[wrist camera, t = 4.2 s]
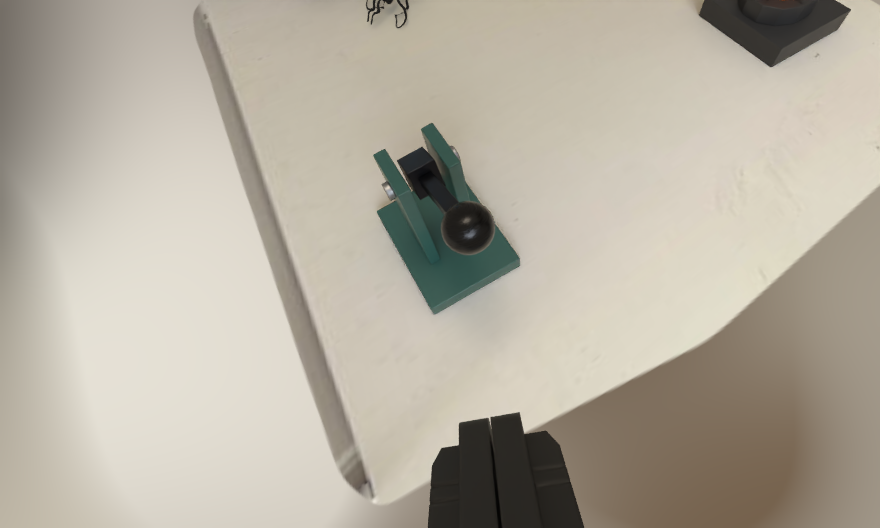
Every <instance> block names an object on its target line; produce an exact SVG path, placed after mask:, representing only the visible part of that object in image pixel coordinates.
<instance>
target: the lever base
mask: <svg viewBox="0 0 880 528" xmlns="http://www.w3.org/2000/svg"><path fill="white" fill-rule="evenodd" d="M421 131H422V134H423V137H424V140H425V143H426V146H427V149H428V152H429V154H430V155H431V156H432V157H433V158H434V160H435V162H436V164H437V166H438V169H439V171H440V173H441V175H442V178H443V180H444V182H445V185H446V186H445V187H446V188H447V189H448V190H449V191H450V193H451V194H452V195H453V196H454V197H455V198H456V199H457V200H458V201H459V202H462V201H474V202H478V203H480V202H479V200H478V199H477V197H476V196H475V195H474V193H473V192H472V190H471V189H470V188H469V186H468V185H467V183H466V182H465V178H464V174H463V170H462V166H461V162H460V157H459V155H458V153H457V151H456V149H455V148H454V147H453V146H449V145H448V144H447V142H446V141H445V139H444V138H443V137H442V135H441V134H440V133H439V131H438V130H437V128H436V127H435V126H434V124H433V123H431V124H429V125H427V126H425V127H423V128H422V129H421ZM373 156H374V158H375V160H376V162H377V164H378V166H379V168H380V170H381V172H382V174H383V176H384V178H385V180H386V182H385V183H383V184H382V186H383V188H384V190H385V192H386V194H387V195H388V197H389V199H390V200H391V201H392V200H394V199H395V200H396V201H394V202H393V203H391V204H389V205H387V206H385V207H384V208H382V209H380V210H378V211H377V213H378V215H379V217H380V219H381V221H382V222H383V224H384V226H385V228H386V230H387V231H388V233H389V235H390V237H391V239H392V240H393V242H394V244H395V246H396V248H397V249H398V251H399V253H400V255H401V257H402V258H403V260H404V262H405V264H406V266H407V267H408V269H409V271H410V273H411V275H412V276H413V278H414V280H415V282H416V284H417V285H418V287H419V289H420V291H421V293H422V294H423V296H424V298H425V300H426V302H427V303H428V305H429V307H430V309H431V310H432V312H433V314H436V313H438V312H440V311H442V310H443V309H445V308H447V307H449V306H450V305H452V304H454V303H456V302H457V301H459V300H461V299H463V298H464V297H466V296H468V295H470V294H471V293H473V292H475V291H476V290H478V289H480V288H482V287H483V286H485V285H487V284H489V283H490V282H492V281H494V280H496V279H497V278H499V277H501V276H503V275H504V274H506V273H508V272H510V271H511V270H513V269H515V268H517V267H518V266H520V258H519V257H518V255H517V254H516V252H515V251H514V250H513V248H512V247H511V245H510V244H509V243H508V241H507V240H506V238H505V237H504V235H503V234H502V233H501V231H500V230H499V228H498V227H497V226H496V224H495V234H494V237H493V240H492V241H491V243H490V244H489V246H488V247H487V248H486V249H484V250H483V251H482V252H480V253H477V254H474V255H462V254H459V253H456V252H454V251H453V250H451V249H450V248H449V247H448V246H447V245H446V243H445V242H444V240H443V237H442V234H441V222H442V219H443V216H444V214H443V213H442V212H441V211H440V209H439V208H438V207H437V206H436V204H435V203H434V202H433V201H432V199H431V198H430V197H429V196H427V197H425V198H424V199H422V200H420V199H419V198H418V196H417V195H416V194H415V192H414V191H412V192H411V190H410V188H409V187H408V185H407V183H406V182H405V180H404V179H403V177H402V175H401V174H400V172H399V171H398V169H397V167H396V166H395V164H394V162H393V161H392V159H391V158H390V156H389V154H388V153H387V151H386V150H385V149H383V150H381V151H380V152H378V153H376V154H374V155H373ZM480 204H481V203H480Z"/></svg>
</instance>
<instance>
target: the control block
mask: <svg viewBox="0 0 880 528" xmlns="http://www.w3.org/2000/svg"><path fill="white" fill-rule="evenodd" d="M850 10H851V9H849V8H847V7H846V6H844V5H842V4H841V3H839V2H837V1H835V0H784V1H782V0H704V3H703V6H702V8H701V11H700V14H699V15H700V16H701V17H703V18H704V19H705V20H707V21H708V22H709V23H711V24H712V25H714V26H715V27H716V28H718V29H719V30H721V31H722V32H723V33H725V34H726V35H727V36H729V37H730V38H732V39H733V40H734V41H736V42H737V43H739V44H740V45H741V46H743V47H744V48H745V49H747V50H748V51H750V52H751V53H752V54H754V55H755V56H757V57H758V58H759V59H761V60H762V61H763V62H765V63H766V64H768V65H769V66H770V67H772V66H774V65H776V64H778V63H779V62H781V61H783V60H785V59H786V58H788V57H790V56H792V55H793V54H795V53H797V52H799V51H800V50H802V49H804V48H806V47H808V46H809V45H811V44H813V43H815V42H816V41H818V40H820V39H822V38H823V37H825V36H827V35H829V34H830V33H832V32H834V31H836V30H837V29H838V28H839V27H840V25H841V24H842V22H843V21H844V19H845V18H846V16H847V15H848V13H849V12H850Z"/></svg>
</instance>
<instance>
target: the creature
mask: <svg viewBox="0 0 880 528" xmlns="http://www.w3.org/2000/svg"><path fill="white" fill-rule="evenodd" d="M367 1H368V0H367ZM375 1H376V0H373V8H371V9H369V8H368V7H367V2H366V7H367V9H368V10H370V11H369V12H368V20H367V22H368V21H369V13H370V12H371V11H374V10H375V8H377V12H374V13H373V15H372V19H371V24H372V21H373V16H374V15H375V14H378V13H380V8H383V9H384V7H379V4H380V1H381V0H379V1H378V2H377V7H375ZM383 1H384V3H385V2H386V3H387V4H391V3H392V1H393V0H383ZM397 2H398V3H399V5H400V6H401V7H402V8H403V10H404V14H405V20H404V23H403V24H402V25H401V26H400V27H402V26H403V25H404V24H405V22H406V19H407V13H406V9H408V8H409V5H408V1H407V0H406V6H407V7H406V8H405V7H404V6H403V5H402V4H401V3H400V1H399V0H397ZM383 5H384V4H383ZM401 14H402V13H401ZM396 16H397V15H395V17H396ZM396 25H397V18H396ZM396 27H397V26H396ZM400 27H397V28H400Z"/></svg>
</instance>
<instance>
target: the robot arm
mask: <svg viewBox="0 0 880 528" xmlns="http://www.w3.org/2000/svg"><path fill="white" fill-rule="evenodd" d="M491 428H492V429H491ZM428 528H584V525H583V522H582V518H581V515H580V512H579V509H578V505H577V502H576V498H575V496H574V492H573V488H572V485H571V482H570V478H569V475H568V472H567V468H566V465H565V462H564V458H563V455H562V452H561V448H560V445H559V444H558V443H557V442H556V441H555V440H554V439H553V438H552V437H551V436H550V434H548V432H547V431H541V432H535V433H529V434H524V431H523V426H522V422H521V417H520V412H518V413H512V414H507V415H501V416H495V417H491V425H490V421H489V418H484V419H478V420H472V421H467V422H461V423H459V445H458V446H452V447H446V448H441V450H440V452H439V454H438V456H437V458H436V459H435V461H434V463H433V465H432V474H431V490H430V505H429V518H428Z"/></svg>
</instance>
